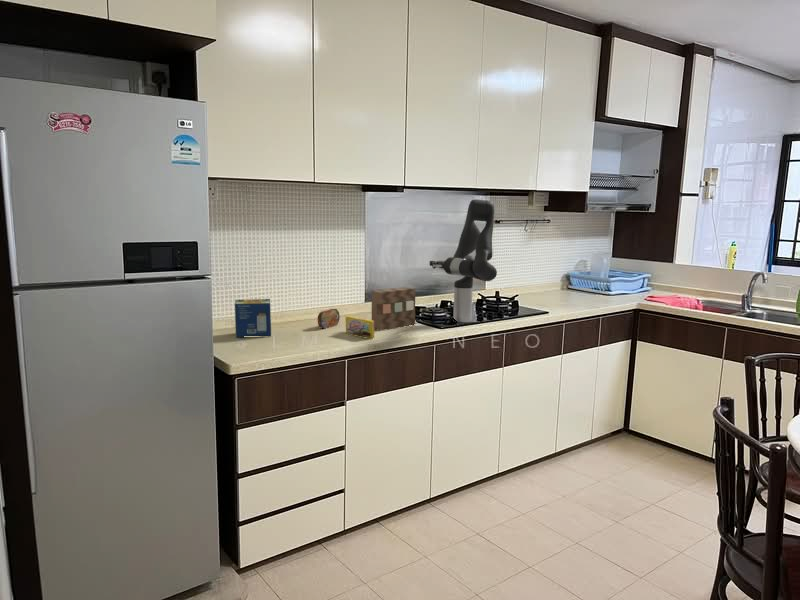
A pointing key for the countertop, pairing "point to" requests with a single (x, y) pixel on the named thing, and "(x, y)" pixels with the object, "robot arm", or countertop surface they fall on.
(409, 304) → the cream button
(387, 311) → the terracotta button
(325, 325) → the tin
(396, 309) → the sage button
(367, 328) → the candy box
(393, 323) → the button panel
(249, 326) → the protein box
